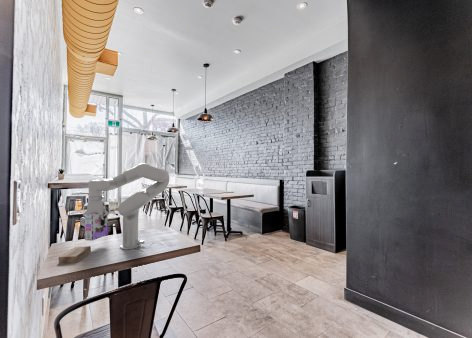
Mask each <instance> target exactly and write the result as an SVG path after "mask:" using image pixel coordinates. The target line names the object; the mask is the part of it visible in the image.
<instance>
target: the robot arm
mask: <svg viewBox="0 0 472 338" xmlns="http://www.w3.org/2000/svg"><path fill="white" fill-rule="evenodd" d="M142 178H144V179H147V180H150V181H152V182H153V183H151V184H149V185H148V186H147V187H146V188H144V189H142V190H139V191H136V192H135V193H134V194H131V196H129V197H128V198H126V199H125V200H123V201H122V202H121V203H119V206H118V208H117V212H118V214H119V215H121V216H122V244H120V245H119V249H121V250H134V249H137V248H140V247H141V245H142V244H143V245H145V244H146V243H145V242H146V241H145V240H144V239H140V238H139V214H140V209H141V208H143V207H144V206H146V204H149V203H150V201H152V200H153V199H154V198H156V197H157V196H159V194H161V193H162V192H164V191H165V190H166V189H167V188H168V185H169V183H170V174H169V172H168V171H167V169H164V168H159V167H158V168H157V167H155V166H153V165H150V164H149V163H146V162H141V163H139V164H136V166H134V167H131V168H129V169H126V170H124V171H123V172H122V173H121V174H119V175H117V176H114V177H112V178H107V179H92V180H89V181H88V201H87V204H86V211H84V213H83V214H82V216H83V217H84V215H86V214H91V213H98V214H99V216H100V217H101V218H102V220H101V226H103V225H104V224H105V218H106V217H107V218H108V216H109V215H110V212H109V211H107V210H106V204H105V196H103V192H109V191H113V190H116V189H117V188H121V187H122V186H125V185H128V184H130V183H133V182H135V181H137V180H140V179H142ZM104 214H106V215H105V216H104Z"/></svg>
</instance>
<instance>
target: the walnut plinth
mask: <svg viewBox="0 0 472 338" xmlns="http://www.w3.org/2000/svg"><path fill="white" fill-rule="evenodd" d="M91 248H92V247H91V245H90V246H89V245H88V246H87V245H86V246H75V247H73V248H71V249H69V250H68V251H66V252H64V253H63V254H61V255H59V256H58V264H76V263H78V262H79V261H81V260H82V259H84V258H85V257H86V256H87V255H89V254H90V253H91V251H92V250H91Z"/></svg>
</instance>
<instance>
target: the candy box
mask: <svg viewBox="0 0 472 338" xmlns="http://www.w3.org/2000/svg"><path fill="white" fill-rule="evenodd" d="M105 215H106V214H104V216H105ZM83 218H84V240H85V241H90V242H91V241H96V240H98V239H100V238H103V237H105V236H108V235H109V225H108V223H109V222H108V221H109V219H108V216H107V217H106V218H105V224H104V225H103V226H101V220H102V218H101V217H100V216H99V214H98V213H91V214H86V215H84V216H83Z"/></svg>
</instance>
